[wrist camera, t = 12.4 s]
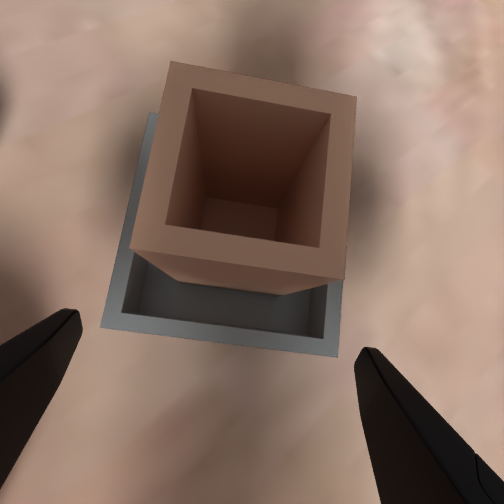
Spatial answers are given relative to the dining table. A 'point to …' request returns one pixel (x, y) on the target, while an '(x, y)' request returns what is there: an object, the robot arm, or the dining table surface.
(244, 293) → the grey square tray
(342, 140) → the terracotta bin
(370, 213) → the dining table surface
